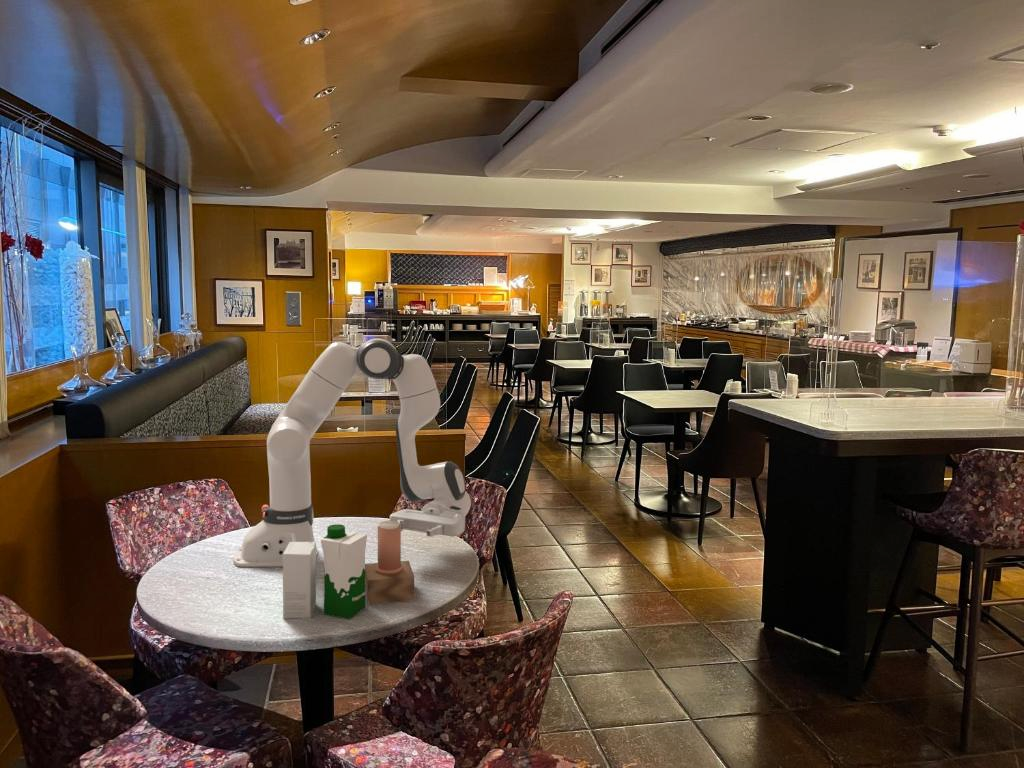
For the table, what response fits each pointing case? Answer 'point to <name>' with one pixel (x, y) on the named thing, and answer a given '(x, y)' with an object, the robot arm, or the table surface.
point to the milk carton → (344, 572)
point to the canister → (389, 548)
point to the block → (389, 585)
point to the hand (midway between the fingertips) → (412, 531)
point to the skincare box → (299, 580)
